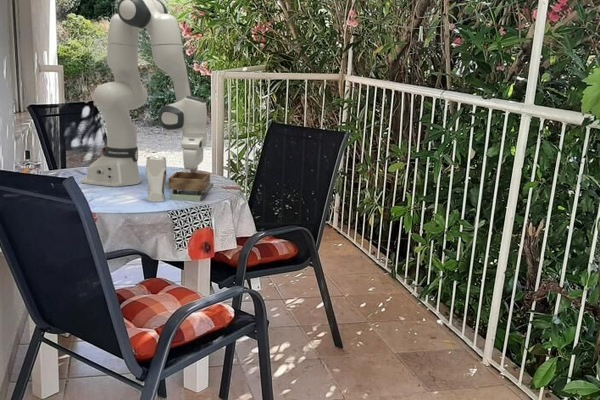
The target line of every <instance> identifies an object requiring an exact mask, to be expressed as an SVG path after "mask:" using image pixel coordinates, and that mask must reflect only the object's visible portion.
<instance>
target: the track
mask: <svg viewBox="0 0 600 400" xmlns="http://www.w3.org/2000/svg"><path fill="white" fill-rule="evenodd" d="M213 186H214V182H210V185H209V186H208V187H207V188H206V190H205V191H202V195H198V194H193V193H184V191H185V190H177V193H173V192H171V193H170V200H174V201H186V202H187V201H189V202H190V201H191V202H201V201H202V200H203V198H205V196H206V195H207V194H208V192H209V191H210V190H211V189H212V188H213Z"/></svg>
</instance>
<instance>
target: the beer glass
mask: <svg viewBox="0 0 600 400" xmlns="http://www.w3.org/2000/svg"><path fill="white" fill-rule="evenodd" d="M145 162H146V164H145V172H146V173H145V174H146V182H147V185H148V194H147V197H146V198H147V201H149V202H153V203H156V202H157V203H159V202H160V203H161V202H164V201H165V200H166V196H165V185H166V180H167V158H166V156H165V157H164V156H154V155H153V156H148V157H146V161H145Z"/></svg>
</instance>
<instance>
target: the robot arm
mask: <svg viewBox="0 0 600 400" xmlns="http://www.w3.org/2000/svg"><path fill="white" fill-rule="evenodd" d="M116 10H117V13H116V14H113V16H111V19H110V20H109V21H110V22H109V24H108V25H109V26H108V31H107V49H106V52H107V53H106V55H107V56H106V63H107V65H108V67H109V68H110V70H111V71H112V74H113V78H114V81H108V82H104V83H102V84H100V85H98V86H97V87H96V88H94V92H93V96H92V98H93V102H94V104H95V106H96V107H97V109H99V110H100V111H101V113H102V116H103V118H104V122H105V126H106V127H105V128H106V143H107V144H106V145H105V146H103V148H101V149H100V150H101V151H100V152H101V153H102V155H101V156H100V157H98V158H97V159H96V160H95V161H93V162H92V163H91V164H89V165H88V168H87V171H86V172H87V173H86V176H84V177H82V178H81V180H80V183H81V184H86V185H87V184H88V185H94V186H95V185H97V186H105V187H114V188H116V187H122V186H133V185H137V184H141V183H142V180H141V177H140V171H139V166H138V161H139V149H138V147H139V146H138V145H137V144H138V143H137V141H138V139H137V138H138V136H137V135H138V133H137V130H138V129H137V126H136V124H134V122H133V121H132V118H131V116H130V111H132V110H136V109H139V108H141V107H142V106H144V105H145V104H146V103H147V100H148V91H147V89H146V87H145V85H143V83H142V80H141V76H140V71H139V63H138V62H139V35H140V33H141V31H142V30H144V31H147V32H148V34H149V36H150V46H151V47H150V49H151V55H152V58H153V59H152V60H153V62H154V64H155V65H156V66H157V67H158V68H159V69H160V70H161V71H163V72H165V73H166V75H168V76H169V77H170V79H171V81H172V84H173V89H174V94H175V95H174V96H175V99H176V100H175V101H176V102H173V103H169V104H166V105H163V106H162V107H161V108H160V109H159V111H158V114H157V115H158V117H157V119H158V122H159V124H160V125H161V127H162V128H164V130H166V131H167V130H169V131H175V130H176V131H177V130H178V131H179V130H182V140H181V149H182V150H183V151H182V159H183V167H184V170H190V173H198V169H199V168H198V166H199V165H200V164H201V163H202V162H203V161H204V148H205V147H207V136H208V135H207V133H208V132H207V123H208V111H207V110H208V109H207V104H206V101H205V100H204V99H203V98H201V97H198V96H193V93H192V88H191V83H190V82H191V81H190V75H189V72H188V68H187V65H186V62H185V56H184V51H183V42H182V35H181V30H180V27H179V23H178V20H177V18H176V17H175V16H174V15H172V14H169V13H168V9H167V7H166V5H165V4H164V3H163V2H162V1H161V0H119V2H118V4H117V9H116Z"/></svg>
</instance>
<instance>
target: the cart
mask: <svg viewBox="0 0 600 400" xmlns="http://www.w3.org/2000/svg"><path fill="white" fill-rule="evenodd" d="M210 183H211V173H202V172H197V173H191V172H189V171H188V172H187V171H185V172H184V171H175V173H173V174H172V175H171V176H170V177H168V190H172V193H177V190H184V191H191V192H192V191H193V192H194V191H195V192H197V195H202V191H205V190H206V188H207V187H208V186H209V185H210Z"/></svg>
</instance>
